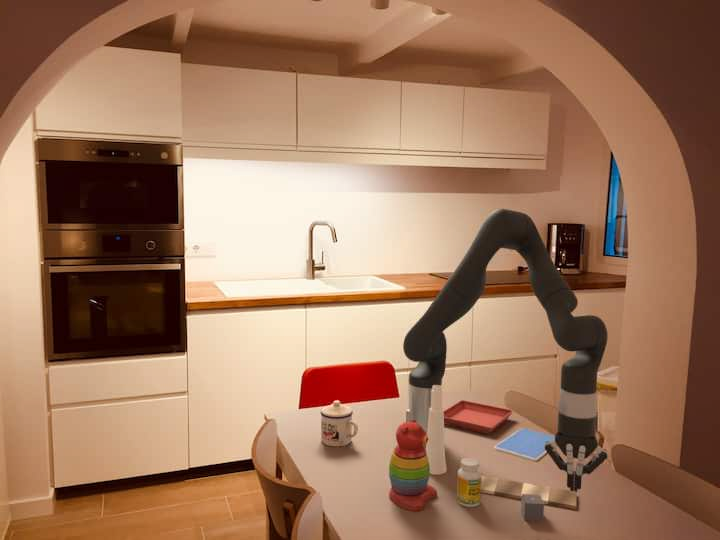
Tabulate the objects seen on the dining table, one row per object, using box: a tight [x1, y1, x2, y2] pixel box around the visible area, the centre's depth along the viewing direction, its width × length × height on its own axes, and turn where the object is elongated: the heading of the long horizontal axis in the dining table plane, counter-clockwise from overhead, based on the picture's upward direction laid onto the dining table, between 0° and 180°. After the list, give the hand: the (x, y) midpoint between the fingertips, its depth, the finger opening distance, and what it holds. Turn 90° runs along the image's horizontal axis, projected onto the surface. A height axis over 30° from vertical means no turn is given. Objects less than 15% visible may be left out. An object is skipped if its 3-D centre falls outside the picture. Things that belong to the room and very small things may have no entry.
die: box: [520, 494, 545, 522], centre depth 128 cm, size 4×4×4 cm
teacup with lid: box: [320, 400, 359, 447], centre depth 166 cm, size 12×9×12 cm
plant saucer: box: [444, 399, 514, 435], centre depth 184 cm, size 18×18×3 cm
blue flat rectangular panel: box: [494, 427, 555, 462], centre depth 166 cm, size 19×13×1 cm, turn 141°
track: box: [481, 475, 578, 510], centre depth 138 cm, size 24×7×1 cm, turn 69°
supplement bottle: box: [456, 457, 482, 508], centre depth 133 cm, size 5×5×10 cm
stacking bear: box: [388, 419, 438, 512], centre depth 135 cm, size 11×10×18 cm
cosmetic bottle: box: [425, 385, 448, 476], centre depth 148 cm, size 6×6×22 cm
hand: (573, 489), depth 124 cm, fingers closed
